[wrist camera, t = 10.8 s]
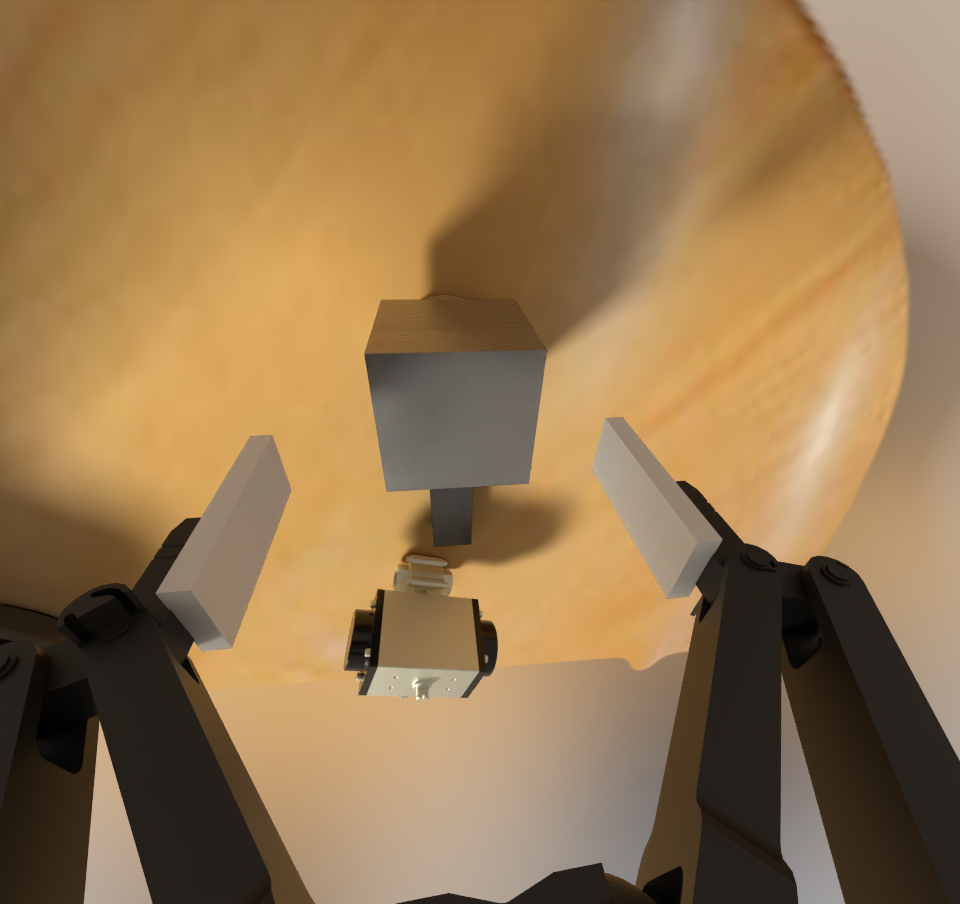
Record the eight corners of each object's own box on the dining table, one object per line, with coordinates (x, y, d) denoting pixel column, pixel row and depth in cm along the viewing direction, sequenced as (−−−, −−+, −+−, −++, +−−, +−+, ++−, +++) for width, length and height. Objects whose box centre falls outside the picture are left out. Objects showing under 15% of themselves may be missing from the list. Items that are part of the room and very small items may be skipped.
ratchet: (417, 526, 35) (416, 596, 29) (393, 294, 23) (383, 338, 17) (484, 522, 35) (494, 589, 30) (494, 294, 23) (516, 336, 18)
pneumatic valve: (366, 541, 35) (345, 682, 26) (486, 557, 39) (506, 688, 29) (356, 577, 38) (334, 716, 29) (468, 590, 42) (481, 717, 32)
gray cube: (395, 415, 24) (386, 491, 19) (381, 299, 20) (364, 353, 14) (505, 411, 25) (528, 483, 19) (514, 299, 21) (546, 350, 15)
